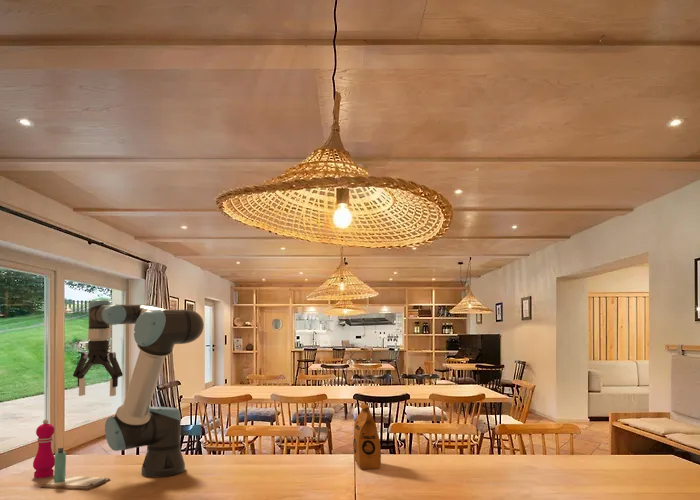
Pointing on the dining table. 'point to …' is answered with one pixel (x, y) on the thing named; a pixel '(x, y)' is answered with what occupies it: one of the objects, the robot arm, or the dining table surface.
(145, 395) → the robot arm
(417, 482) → the dining table surface
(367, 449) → the coffee package
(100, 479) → the clipboard
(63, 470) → the bottle
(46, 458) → the pepper mill
